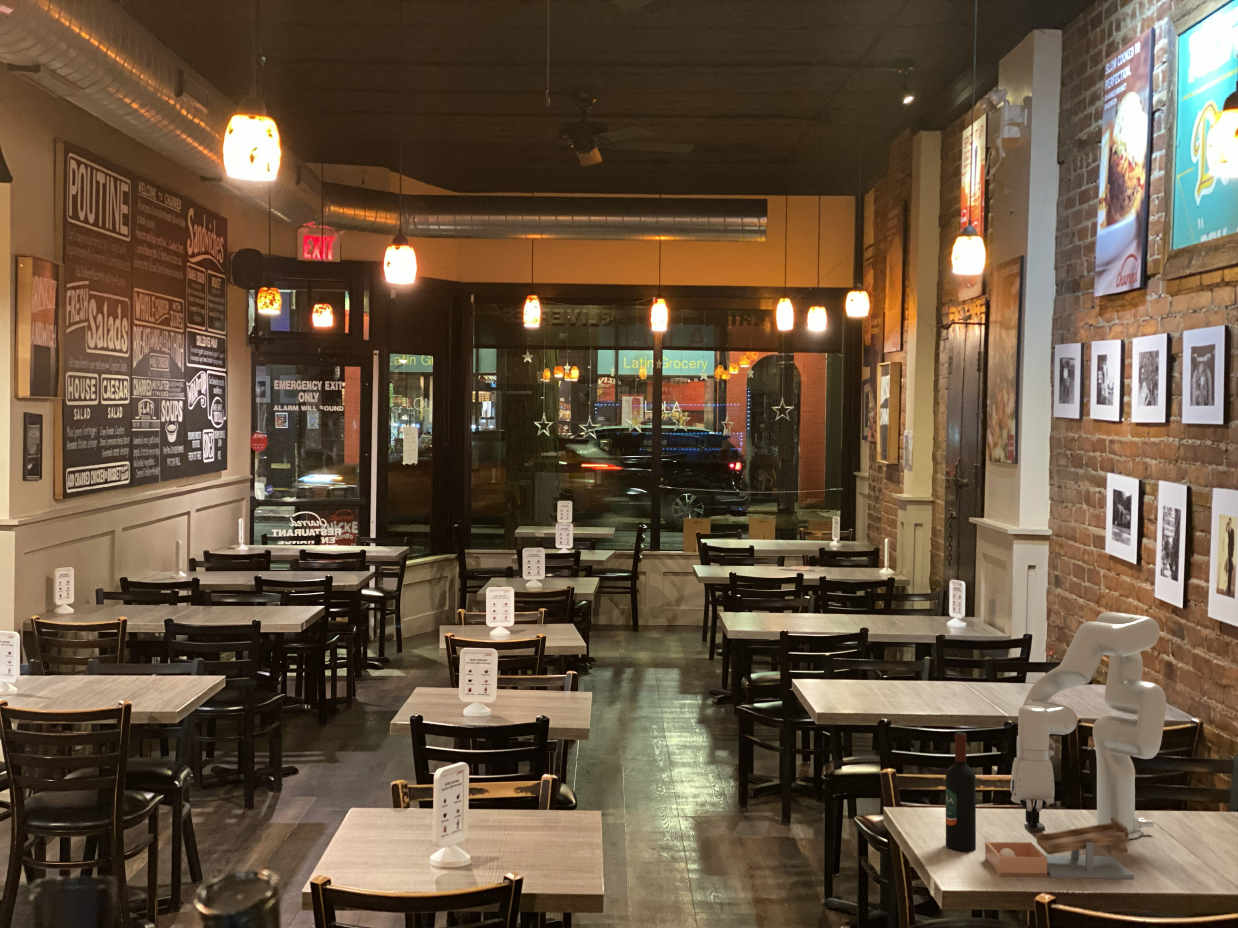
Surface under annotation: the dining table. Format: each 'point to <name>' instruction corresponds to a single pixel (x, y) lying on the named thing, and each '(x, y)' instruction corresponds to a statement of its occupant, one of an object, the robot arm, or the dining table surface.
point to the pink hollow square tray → (1016, 859)
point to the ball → (1007, 852)
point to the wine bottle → (960, 801)
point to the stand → (1086, 866)
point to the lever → (1082, 838)
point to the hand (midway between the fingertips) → (1032, 825)
